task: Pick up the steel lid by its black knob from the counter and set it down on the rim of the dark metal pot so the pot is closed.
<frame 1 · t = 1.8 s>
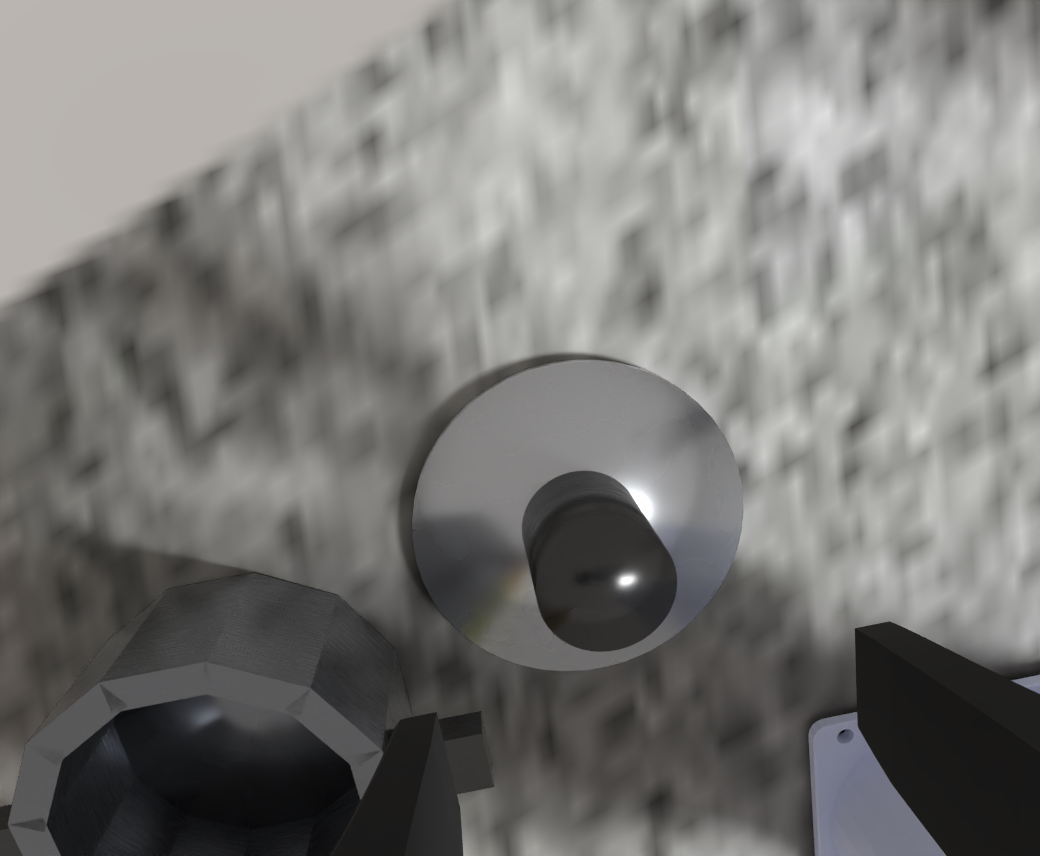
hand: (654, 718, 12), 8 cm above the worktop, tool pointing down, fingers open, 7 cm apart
pot: (255, 711, 21), on the worktop
lid: (576, 516, 20), on the worktop
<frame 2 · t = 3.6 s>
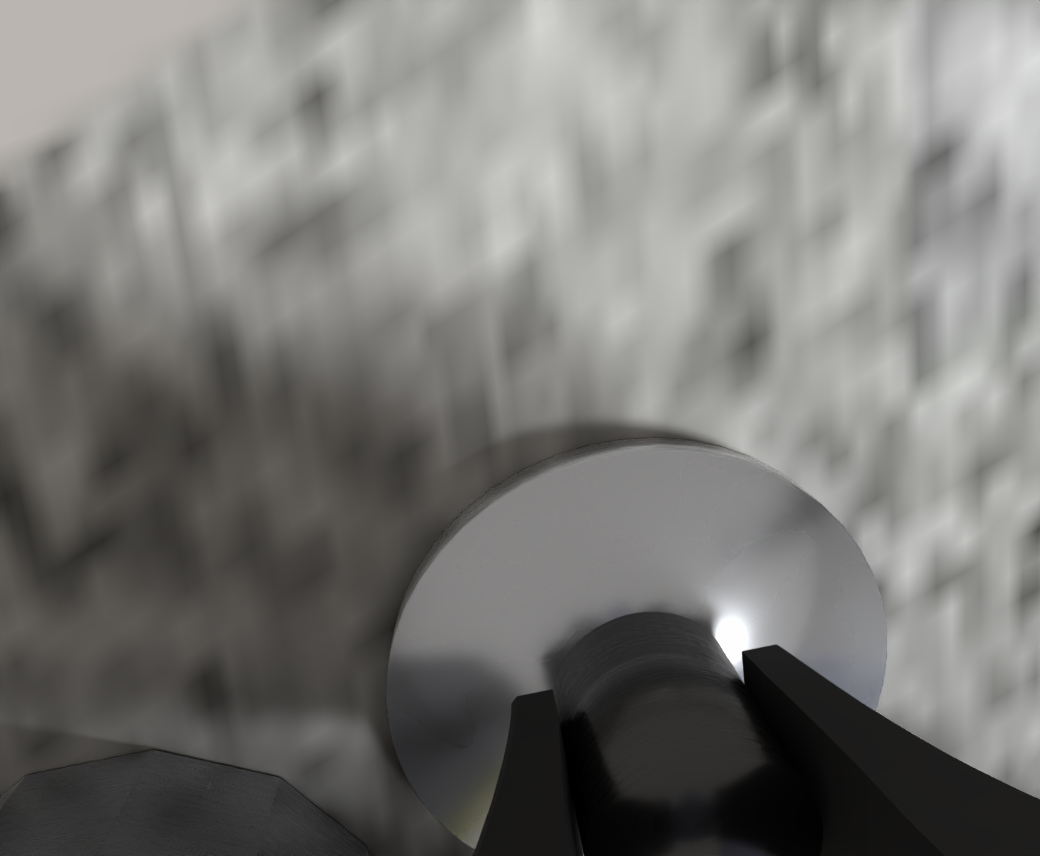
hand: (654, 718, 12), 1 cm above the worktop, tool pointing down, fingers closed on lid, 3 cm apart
lid: (633, 666, 14), on the worktop, touching gripper
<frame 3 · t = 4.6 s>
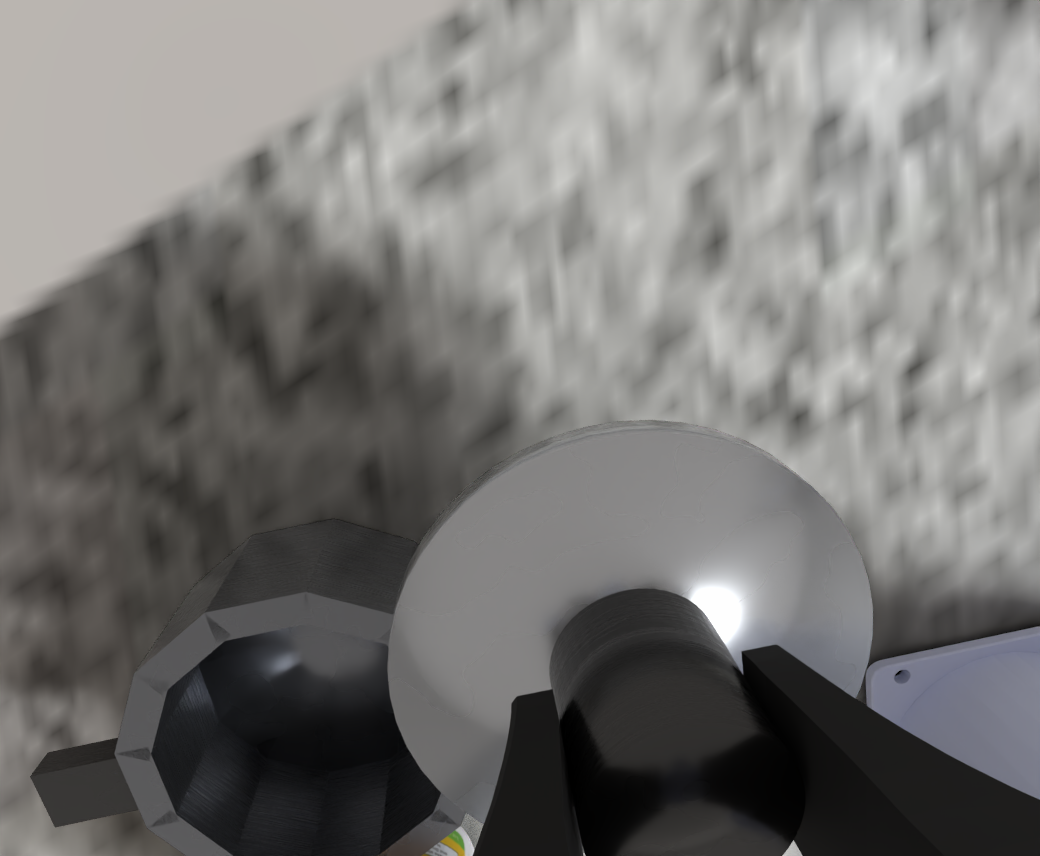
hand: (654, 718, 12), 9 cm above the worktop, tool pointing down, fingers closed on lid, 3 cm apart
pot: (333, 656, 21), on the worktop
supplement bottle: (395, 854, 24), on the worktop
lid: (627, 642, 14), point 7 cm above the worktop, touching gripper
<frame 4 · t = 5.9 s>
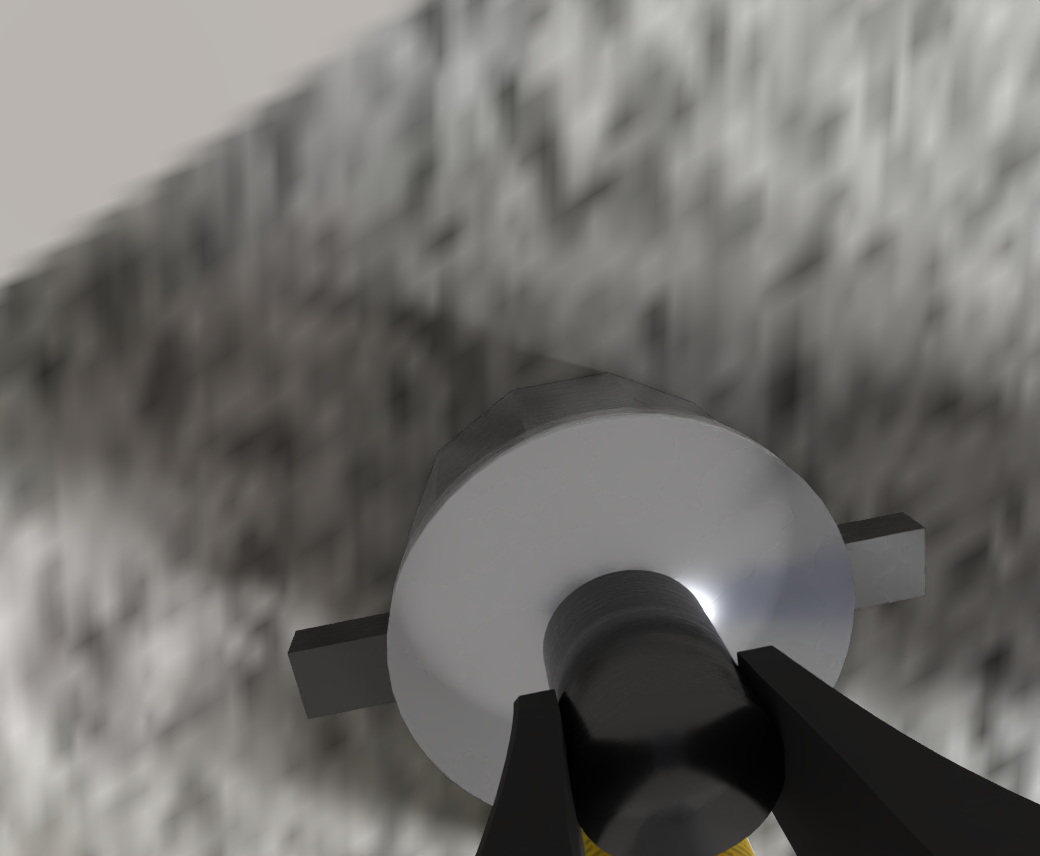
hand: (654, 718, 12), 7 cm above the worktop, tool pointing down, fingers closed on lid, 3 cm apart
pot: (585, 543, 18), on the worktop
supplement bottle: (620, 783, 21), on the worktop
lid: (618, 623, 14), point 4 cm above the worktop, touching gripper
when the fingers open (7 cm above the worktop, at t = 6.1 s): lid stays where it is, resting on pot.
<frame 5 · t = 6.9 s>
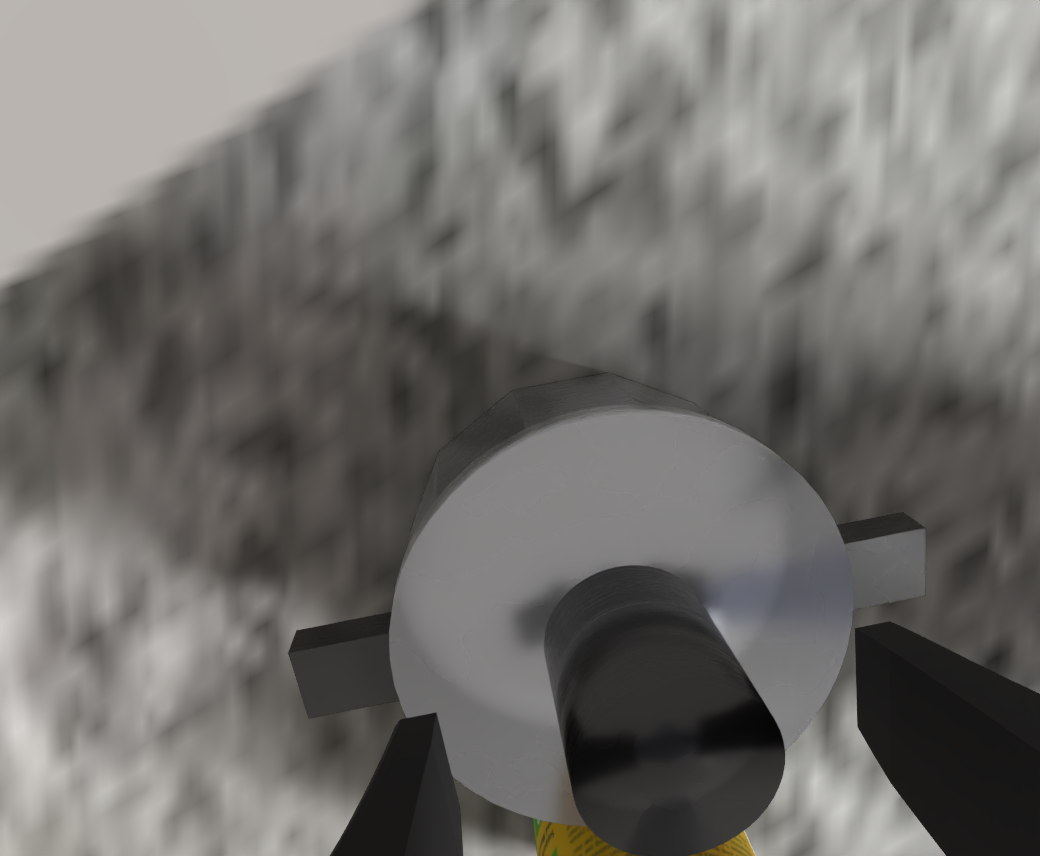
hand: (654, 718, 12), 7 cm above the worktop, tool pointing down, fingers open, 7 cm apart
pot: (585, 543, 18), on the worktop
supplement bottle: (620, 783, 21), on the worktop
lid: (618, 620, 15), point 4 cm above the worktop, touching pot
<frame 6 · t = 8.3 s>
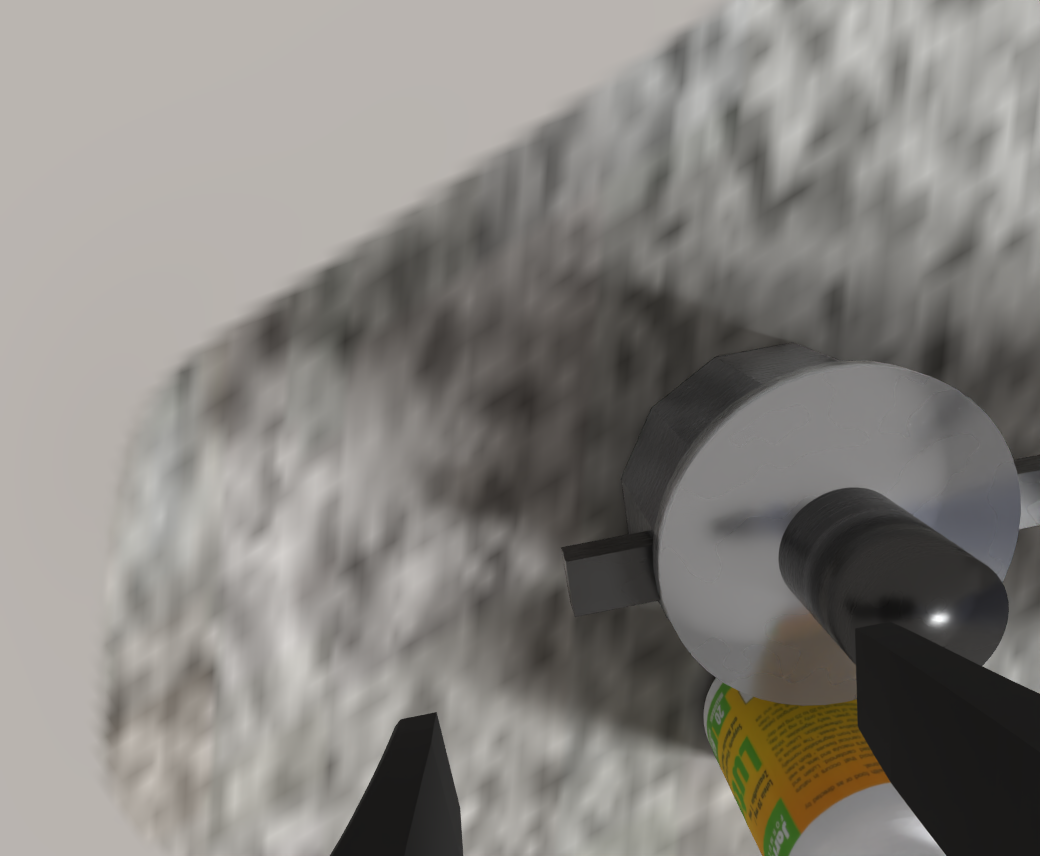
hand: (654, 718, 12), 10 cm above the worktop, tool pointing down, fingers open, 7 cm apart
pot: (763, 486, 22), on the worktop
supplement bottle: (774, 697, 25), on the worktop
lid: (828, 536, 18), point 4 cm above the worktop, touching pot
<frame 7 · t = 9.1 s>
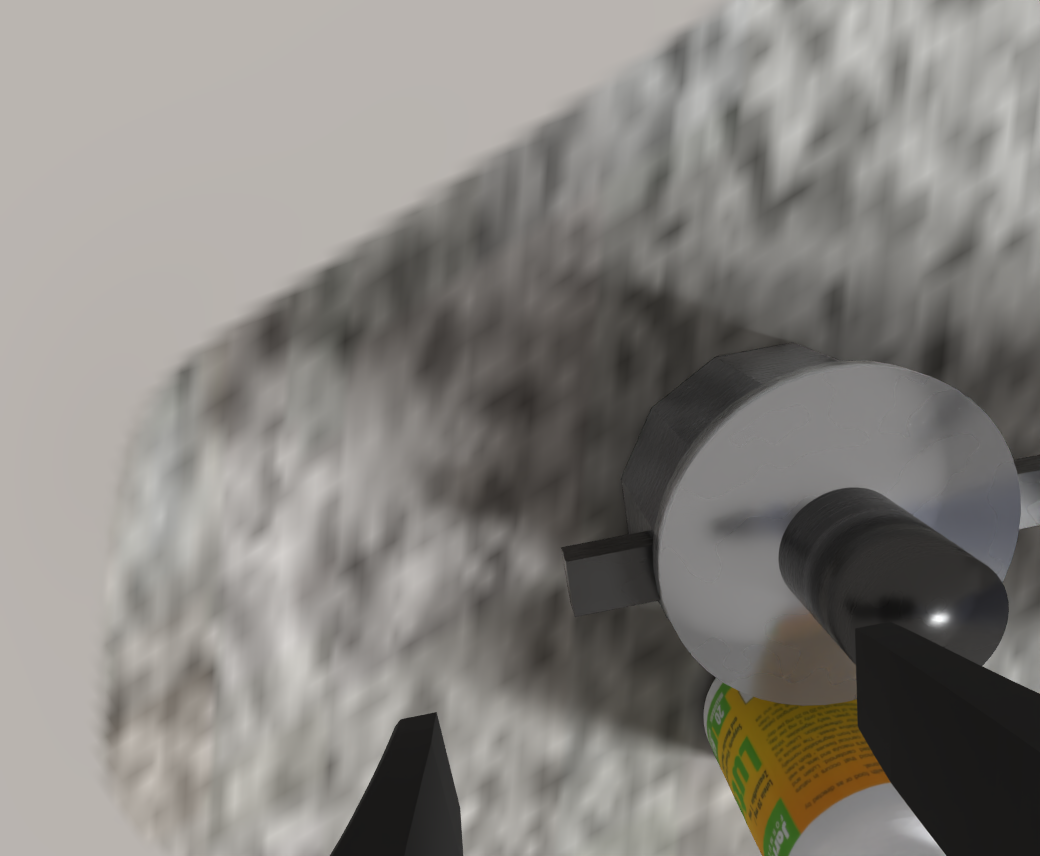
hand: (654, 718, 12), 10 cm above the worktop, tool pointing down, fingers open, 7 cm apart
pot: (763, 486, 22), on the worktop
supplement bottle: (774, 697, 25), on the worktop
lid: (828, 536, 18), point 4 cm above the worktop, touching pot
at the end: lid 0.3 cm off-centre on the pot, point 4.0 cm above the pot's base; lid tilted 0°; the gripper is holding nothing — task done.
